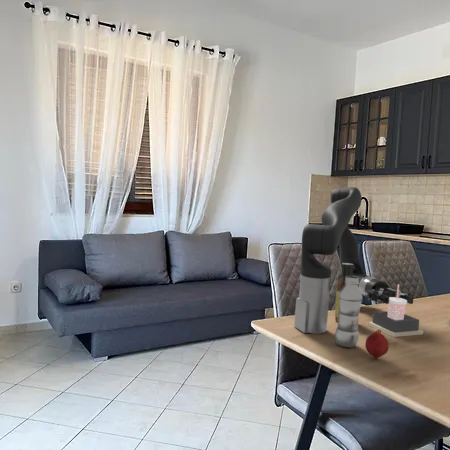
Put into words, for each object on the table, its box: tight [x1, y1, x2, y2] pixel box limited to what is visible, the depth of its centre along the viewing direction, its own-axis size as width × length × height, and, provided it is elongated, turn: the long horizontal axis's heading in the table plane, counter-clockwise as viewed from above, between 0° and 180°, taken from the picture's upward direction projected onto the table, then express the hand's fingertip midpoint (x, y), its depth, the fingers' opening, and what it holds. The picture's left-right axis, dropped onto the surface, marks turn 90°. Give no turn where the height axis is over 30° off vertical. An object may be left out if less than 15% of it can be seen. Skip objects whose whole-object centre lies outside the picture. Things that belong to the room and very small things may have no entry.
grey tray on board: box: [367, 311, 424, 338], centre depth 143 cm, size 12×12×4 cm
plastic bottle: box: [334, 276, 363, 348], centre depth 124 cm, size 6×7×20 cm
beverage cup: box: [387, 283, 408, 320], centre depth 142 cm, size 6×6×14 cm
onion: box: [364, 329, 390, 360], centre depth 116 cm, size 6×6×8 cm
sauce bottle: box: [334, 262, 354, 323], centre depth 148 cm, size 7×6×20 cm
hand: (400, 300), depth 140 cm, fingers open, 8 cm apart
